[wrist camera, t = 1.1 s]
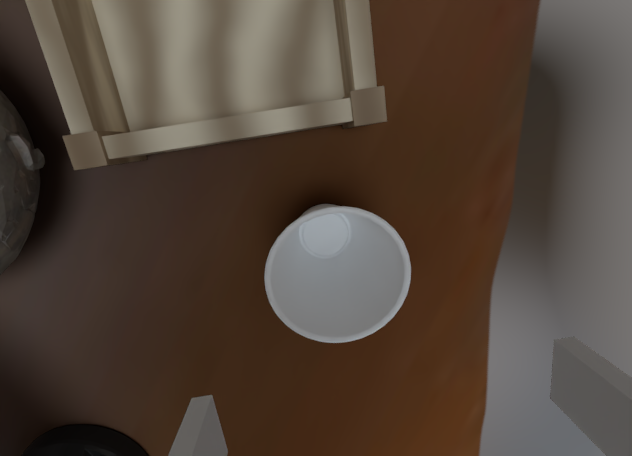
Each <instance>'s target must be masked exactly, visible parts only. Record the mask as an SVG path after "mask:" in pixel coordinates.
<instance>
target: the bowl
mask: <svg viewBox="0 0 632 456" xmlns="http://www.w3.org/2000/svg"><path fill="white" fill-rule="evenodd" d="M44 164H45V159H44V155H43V154H42V153H41V151H40V150H39V149H38V148H36V149H34V145H33V142H32V139H31V137H30V134H29V132H28V129H27V127H26V124H25V123H24V121H23V119H22V118H21V116H20V115H19V113H18V111H17V110H16V108H15V107H14V105H13V104H12V103H11V102H10V100H9V99H8V98H7V97H6V95H5V94H4V93H3V92H2V91H1V90H0V274H1V273H2V272H3V271H4V270H5V269H6V268H7V267H8V266H9V265H10V264H11V263H12V262H13V261H14V260H15V259H16V258H17V256H18V255H19V253H20V252H21V250H22V248H23V246H24V244H25V242H26V240H27V238H28V235H29V233H30V230H31V227H32V225H33V221H34V218H35V212H36V210H37V204H38V198H39V190H40V182H41V181H40V172H39V169H40V168H43V166H44Z"/></svg>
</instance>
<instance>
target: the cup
mask: <svg viewBox="0 0 632 456" xmlns="http://www.w3.org/2000/svg"><path fill="white" fill-rule="evenodd" d="M264 280H265V290H266V293H267V296H268V300H269V303H270V304H271V306H272V308H273V310H274V311H275V313H276V315H277V316H278V317H279V318H280V319H281V320H282V321H283V323H284V324H285V325H287V326H288V327H289V328H291V329H292V330H293V331H295V332H296V333H298V334H300V335H302V336H304V337H306V338H309V339H313V340H316V341H320V342H328V343H341V342H349V341H353V340H357V339H361V338H363V337H366V336H368V335H370V334H372V333H374V332H376V331H377V330H379V329H380V328H382V327H383V326H384V325H386V324H387V323H388V322H389V321H390V320H391V319H392V318H393V317H394V316H395V314H396V313H397V312H398V310H399V309H400V307H401V306H402V304H403V302H404V300H405V298H406V296H407V293H408V289H409V285H410V281H411V264H410V259H409V254H408V251H407V249H406V246H405V244H404V242H403V240H402V239H401V237H400V236H399V234H398V233H397V232H396V230H395V229H394V228H393V227H392V226H391V225H390V224H388V223H387V222H386V221H385V220H384V219H382V218H380V217H379V216H377V215H375V214H374V213H371V212H368V211H366V210H363V209H360V208H354V207H347V206H337V205H333V204H319V205H316V206H313V207H311V208H309V209H308V210H306V211H305V212H304V213H303V214H302V215H301V216H300V217H299V218H298V219H297V220H295V221H294V222H293V223H291V224H290V225H289V226H287V227H286V229H285V230H284V231H283V232H282V233H281V234H280V235H279V236H278V237H277V239H276V241H275V243H274V244H273V246H272V248H271V249H270V252H269V255H268V258H267V261H266V265H265V274H264Z"/></svg>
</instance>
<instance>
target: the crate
mask: <svg viewBox="0 0 632 456" xmlns="http://www.w3.org/2000/svg"><path fill="white" fill-rule="evenodd" d="M25 1H26V4H27V7H28V10H29V13H30V16H31V19H32V22H33V24H34V27H35V30H36V33H37V36H38V39H39V42H40V45H41V48H42V51H43V53H44V56H45V59H46V62H47V65H48V68H49V71H50V74H51V77H52V80H53V82H54V85H55V88H56V91H57V94H58V97H59V100H60V103H61V106H62V108H63V111H64V114H65V117H66V120H67V123H68V126H69V129H70V132H71V135H66V136H62V137H63V140H64V143H65V146H66V148H67V151H68V154H69V157H70V160H71V163H72V165H73V168H74V170H81V169H88V168H95V167H103V166H110V165H117V164H124V163H130V162H136V161H143V160H147V156H146V155H151V154H158V153H164V152H170V151H177V150H183V149H189V148H196V147H202V146H208V145H215V144H221V143H227V142H234V141H240V140H247V139H253V138H259V137H266V136H272V135H278V134H285V133H291V132H297V131H304V130H310V129H316V128H323V127H329V126H335V125H342V128H343V129H346V128H352V127H358V126H365V125H370V124H375V123H380V122H385V121H387V115H386V103H385V92H384V86H379V87H377V82H376V71H375V60H374V49H373V38H372V28H371V17H370V6H369V0H25Z"/></svg>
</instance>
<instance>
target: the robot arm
mask: <svg viewBox="0 0 632 456" xmlns="http://www.w3.org/2000/svg"><path fill="white" fill-rule="evenodd" d="M550 399H551V400H552V401H553V402H554V403H555V404H556V405H557V406H558V407H559V408H560V409H561V410H562V411H563V412H564V413H565V414H566V415H567V416H568V417H569V418H570V419H571V420H572V421H573V422H574V423H575V424H576V425H577V426H578V427H579V428H580V429H581V430H582V431H583V432H584V433H585V434H586V435H587V436H588V437H589V438H590V439H591V441H592V442H593V443H594V444H596V446H597V447H598V448H600V450H601V451H602V452H603V453H604V454H605V455H606V456H632V378H631V377H630V376H628V375H627V374H626V373H624V372H623V371H621V370H620V369H619V368H617V367H616V366H614V365H613V364H611V363H610V362H609V361H607V360H606V359H605V358H603V357H602V356H600V355H599V354H597V353H596V352H595V351H593V350H592V349H590V348H589V347H588V346H586V345H585V344H583V343H582V342H581V341H579V340H578V339H576V338H575V337H568V338H562V339H556V340H554V349H553V364H552V379H551V393H550ZM227 453H228V450H227V446H226V443H225V439H224V436H223V432H222V429H221V425H220V421H219V418H218V414H217V411H216V407H215V404H214V400H213V396H212V395H208V396H202V397H196V398H192V399H191V401H190V404H189V406H188V408H187V411H186V413H185V416H184V418H183V421H182V423H181V426H180V428H179V431H178V433H177V435H176V438H175V440H174V443H173V445H172V448H171V450H170V453H169V455H168V456H227ZM21 456H147V454H146V453H145V452H144V451H143V449H142V448H141V447H140V446H139V445H137V444H136V443H135V442H134V441H132V440H131V439H129V438H128V437H126V436H124V435H122V434H120V433H118V432H115V431H113V430H110V429H107V428H103V427H98V426H91V425H71V426H64V427H60V428H56V429H53V430H51V431H48V432H46V433H44V434H43V435H41V436H40V437H38V438H37V439H36V440H34V441H33V442H32V443H31V444H30V446H29V447H28V448H27V449H26V450H25V451H24V453H23V454H22V455H21Z"/></svg>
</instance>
